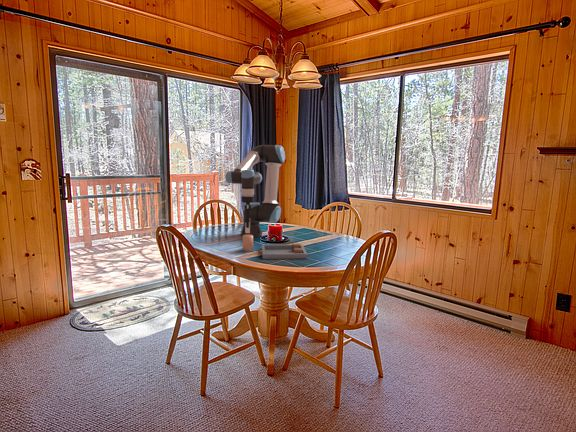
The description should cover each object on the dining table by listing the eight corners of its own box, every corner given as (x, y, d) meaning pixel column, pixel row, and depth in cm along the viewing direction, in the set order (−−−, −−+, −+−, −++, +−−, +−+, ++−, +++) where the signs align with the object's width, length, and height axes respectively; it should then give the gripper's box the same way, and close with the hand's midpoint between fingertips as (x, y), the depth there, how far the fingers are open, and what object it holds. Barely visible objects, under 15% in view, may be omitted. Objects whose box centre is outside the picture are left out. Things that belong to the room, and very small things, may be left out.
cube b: (295, 254, 212) (295, 247, 212) (301, 254, 212) (302, 248, 211) (294, 256, 208) (294, 249, 208) (301, 256, 208) (301, 250, 207)
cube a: (291, 250, 221) (292, 243, 221) (298, 249, 222) (298, 243, 222) (293, 251, 217) (293, 245, 217) (300, 251, 219) (300, 245, 218)
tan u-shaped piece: (242, 248, 225) (242, 234, 223) (253, 248, 226) (253, 234, 224) (242, 251, 219) (242, 237, 217) (253, 251, 219) (253, 236, 218)
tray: (261, 249, 223) (261, 244, 223) (302, 249, 226) (302, 244, 225) (262, 259, 203) (262, 254, 202) (307, 259, 205) (307, 254, 205)
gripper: (242, 193, 228) (242, 226, 231) (240, 198, 203) (240, 235, 207) (254, 193, 229) (253, 226, 232) (254, 198, 204) (254, 235, 208)
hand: (247, 230), depth 220 cm, fingers open, 13 cm apart
